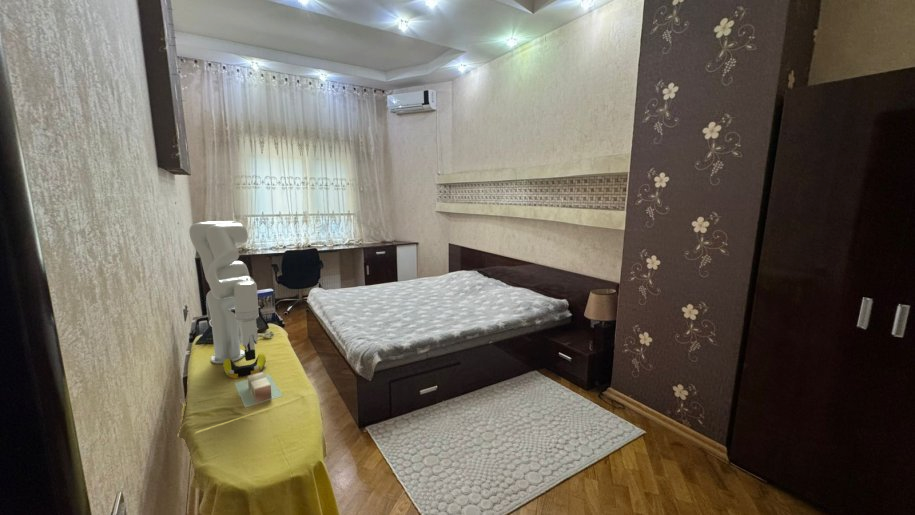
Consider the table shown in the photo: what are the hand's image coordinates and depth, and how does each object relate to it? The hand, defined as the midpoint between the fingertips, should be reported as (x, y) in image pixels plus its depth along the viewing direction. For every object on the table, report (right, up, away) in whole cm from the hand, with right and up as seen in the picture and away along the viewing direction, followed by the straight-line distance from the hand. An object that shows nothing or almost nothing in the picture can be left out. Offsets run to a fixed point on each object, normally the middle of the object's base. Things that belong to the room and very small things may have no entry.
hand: (250, 359), depth 141 cm
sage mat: (+6, -10, -5) cm, 13 cm away
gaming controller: (-7, -8, +8) cm, 13 cm away
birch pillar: (+4, -7, -4) cm, 9 cm away
